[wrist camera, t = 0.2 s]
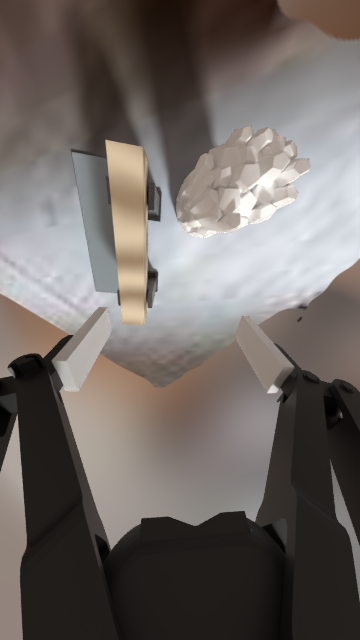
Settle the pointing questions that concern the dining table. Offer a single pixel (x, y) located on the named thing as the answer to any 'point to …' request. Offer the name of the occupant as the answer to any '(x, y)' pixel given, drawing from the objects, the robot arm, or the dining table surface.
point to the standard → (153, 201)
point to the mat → (97, 219)
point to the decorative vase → (239, 183)
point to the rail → (130, 226)
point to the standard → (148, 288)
